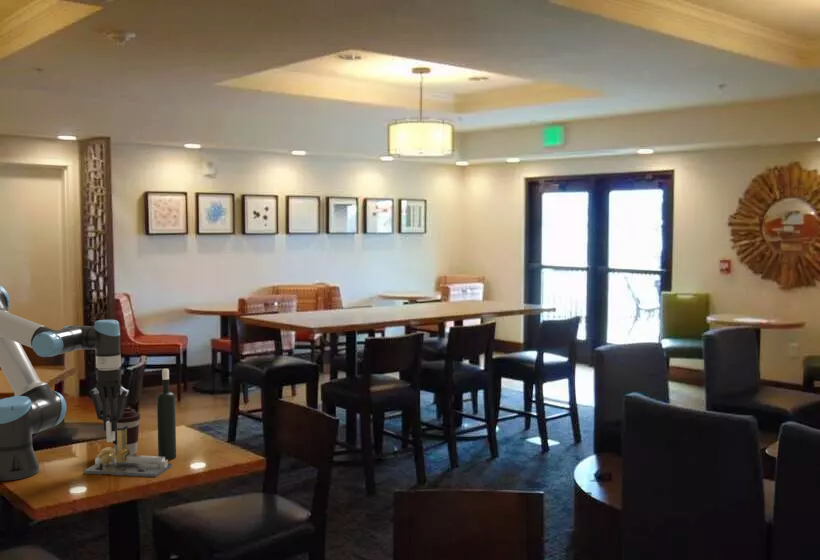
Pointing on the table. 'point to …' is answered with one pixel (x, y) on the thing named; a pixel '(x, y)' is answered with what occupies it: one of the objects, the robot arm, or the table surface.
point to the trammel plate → (128, 464)
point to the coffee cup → (129, 429)
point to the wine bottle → (166, 420)
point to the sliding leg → (121, 445)
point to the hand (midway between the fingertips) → (111, 441)
